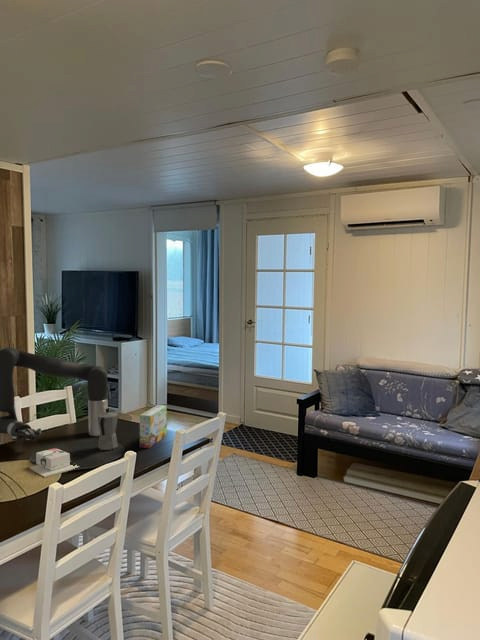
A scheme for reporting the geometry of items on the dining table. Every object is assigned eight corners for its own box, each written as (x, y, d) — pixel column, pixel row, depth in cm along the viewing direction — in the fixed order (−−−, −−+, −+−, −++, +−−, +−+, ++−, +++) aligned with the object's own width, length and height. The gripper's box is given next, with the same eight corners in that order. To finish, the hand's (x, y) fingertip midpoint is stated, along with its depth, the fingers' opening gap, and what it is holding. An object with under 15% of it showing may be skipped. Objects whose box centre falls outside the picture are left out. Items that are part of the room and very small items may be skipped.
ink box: (55, 447, 194) (70, 453, 187) (55, 458, 195) (70, 465, 187) (35, 452, 188) (50, 458, 180) (35, 464, 188) (50, 471, 180)
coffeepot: (102, 443, 217) (101, 404, 216) (122, 443, 217) (121, 405, 216) (91, 454, 202) (90, 413, 201) (112, 454, 202) (112, 413, 201)
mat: (63, 459, 195) (63, 458, 195) (79, 467, 186) (79, 466, 186) (29, 468, 185) (29, 466, 185) (44, 477, 176) (44, 476, 176)
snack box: (150, 448, 209) (150, 415, 209) (139, 448, 211) (138, 414, 210) (167, 435, 230) (167, 404, 229) (156, 434, 231) (156, 404, 231)
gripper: (3, 425, 205) (19, 433, 193) (33, 419, 215) (50, 426, 203) (3, 441, 205) (19, 450, 193) (34, 435, 215) (50, 443, 203)
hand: (35, 438), depth 198 cm, fingers closed
